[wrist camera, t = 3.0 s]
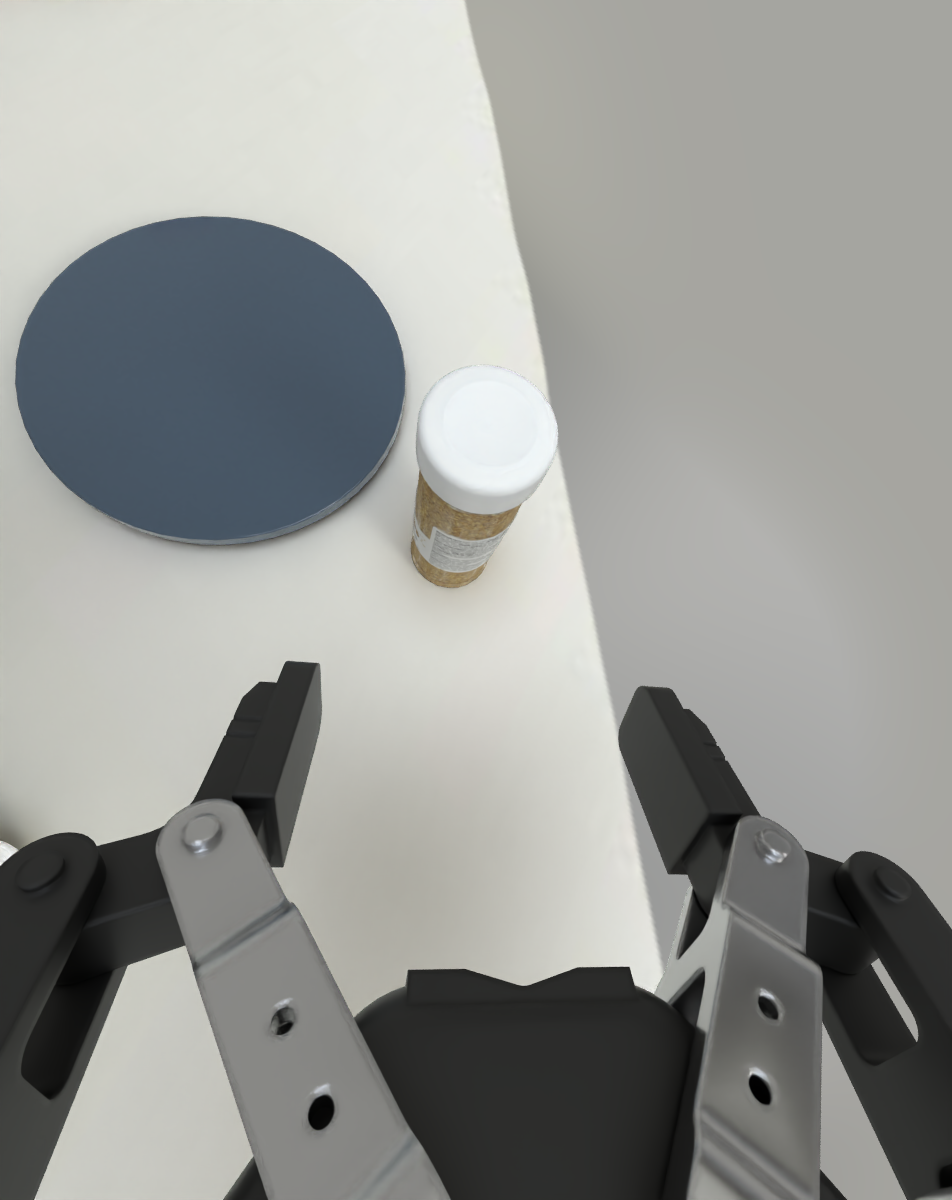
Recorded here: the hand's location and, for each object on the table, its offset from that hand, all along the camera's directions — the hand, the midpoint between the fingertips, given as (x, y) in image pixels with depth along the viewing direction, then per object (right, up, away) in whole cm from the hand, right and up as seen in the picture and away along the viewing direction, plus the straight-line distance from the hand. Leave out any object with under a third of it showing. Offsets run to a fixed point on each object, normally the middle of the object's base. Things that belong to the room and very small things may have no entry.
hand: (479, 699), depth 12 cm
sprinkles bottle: (-2, +5, +16) cm, 17 cm away
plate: (-14, +15, +16) cm, 26 cm away
